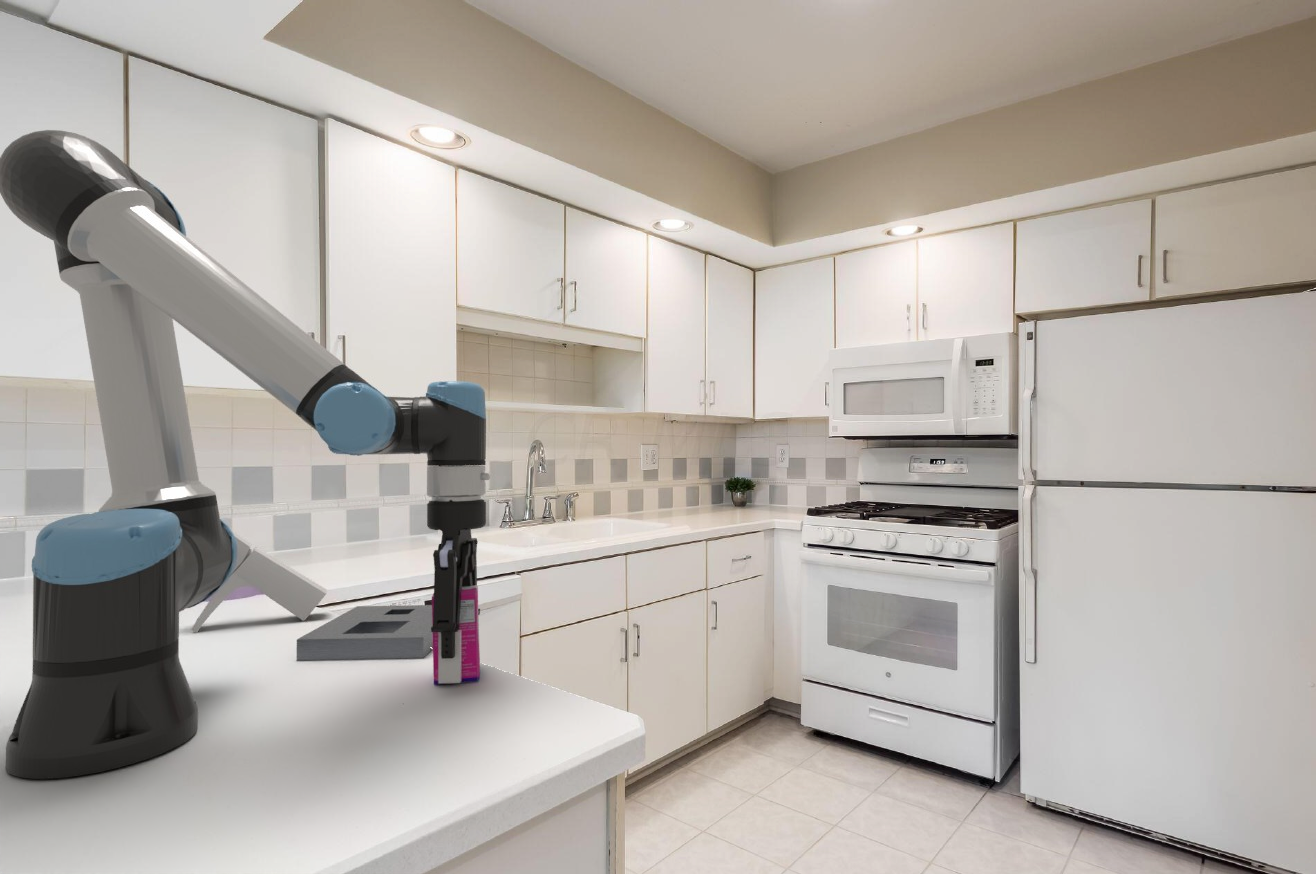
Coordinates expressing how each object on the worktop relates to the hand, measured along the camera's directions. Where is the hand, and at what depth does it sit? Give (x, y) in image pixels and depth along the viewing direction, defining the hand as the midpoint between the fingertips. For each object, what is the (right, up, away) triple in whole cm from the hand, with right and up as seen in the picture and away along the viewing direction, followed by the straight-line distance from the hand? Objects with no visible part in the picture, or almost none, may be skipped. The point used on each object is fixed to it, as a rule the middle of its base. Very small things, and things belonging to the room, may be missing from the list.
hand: (456, 673), depth 91 cm
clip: (-68, -3, +55) cm, 87 cm away
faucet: (-44, -2, +31) cm, 54 cm away
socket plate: (-17, -1, +19) cm, 26 cm away
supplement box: (0, -1, 0) cm, 1 cm away
